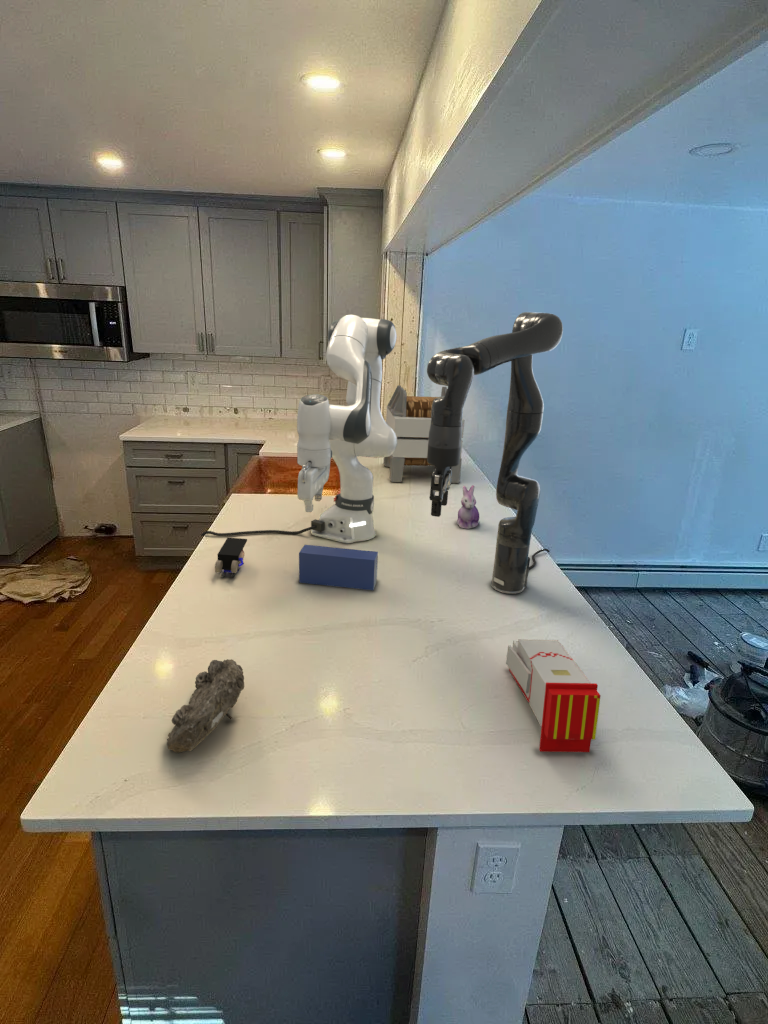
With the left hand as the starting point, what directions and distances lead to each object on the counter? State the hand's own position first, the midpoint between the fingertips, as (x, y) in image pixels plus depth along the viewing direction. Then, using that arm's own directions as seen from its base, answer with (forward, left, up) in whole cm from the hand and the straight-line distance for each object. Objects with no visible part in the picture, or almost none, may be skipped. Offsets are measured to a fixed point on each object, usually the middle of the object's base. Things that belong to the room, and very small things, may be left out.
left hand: (313, 505), depth 156 cm
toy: (+65, -35, -23) cm, 77 cm away
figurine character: (-25, -3, -23) cm, 34 cm away
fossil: (+4, -60, -23) cm, 65 cm away
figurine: (+36, +62, -23) cm, 75 cm away
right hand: (+37, -11, +7) cm, 39 cm away
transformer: (+4, +123, -23) cm, 125 cm away
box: (+7, +1, -23) cm, 24 cm away
